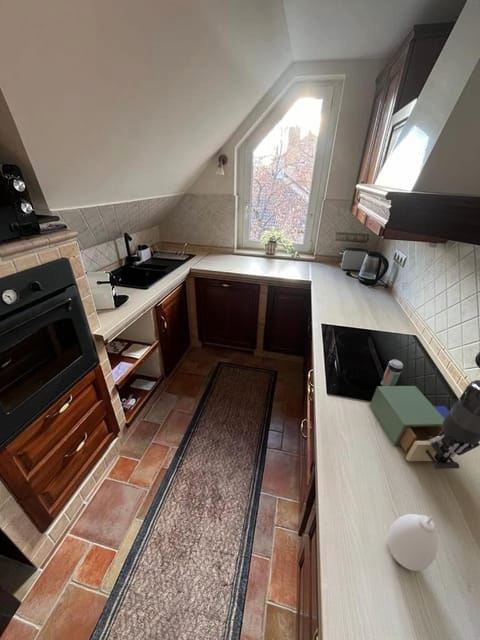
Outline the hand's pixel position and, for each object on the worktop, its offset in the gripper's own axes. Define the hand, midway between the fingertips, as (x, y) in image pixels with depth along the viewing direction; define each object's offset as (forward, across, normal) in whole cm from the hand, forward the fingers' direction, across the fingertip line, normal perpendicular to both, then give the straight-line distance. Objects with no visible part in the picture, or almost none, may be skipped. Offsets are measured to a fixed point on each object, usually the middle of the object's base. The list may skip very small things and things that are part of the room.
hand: (439, 460), depth 71 cm
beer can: (+5, +5, +34) cm, 35 cm away
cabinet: (+5, 0, +16) cm, 17 cm away
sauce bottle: (+5, -20, -18) cm, 28 cm away
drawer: (+4, 0, +7) cm, 8 cm away
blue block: (+5, +16, +17) cm, 24 cm away
